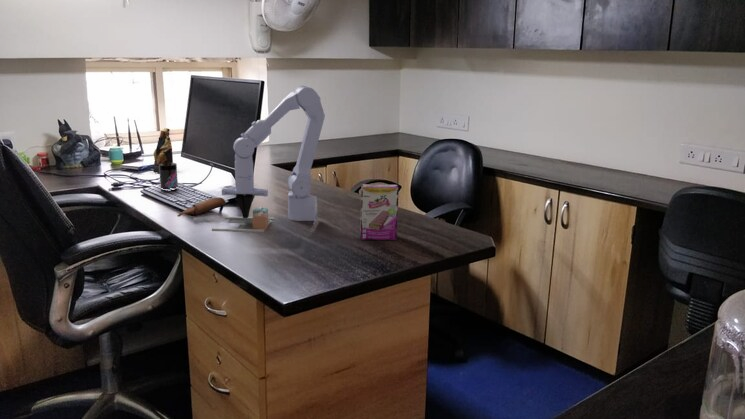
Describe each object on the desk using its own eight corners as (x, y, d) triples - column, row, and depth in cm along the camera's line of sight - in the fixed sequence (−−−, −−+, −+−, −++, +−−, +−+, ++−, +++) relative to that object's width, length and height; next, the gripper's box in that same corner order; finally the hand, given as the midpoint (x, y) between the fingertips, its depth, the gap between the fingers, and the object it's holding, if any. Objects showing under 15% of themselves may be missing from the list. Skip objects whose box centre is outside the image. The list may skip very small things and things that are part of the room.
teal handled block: (268, 220, 200) (267, 206, 199) (265, 223, 196) (265, 209, 195) (256, 219, 200) (255, 206, 199) (253, 223, 196) (252, 209, 195)
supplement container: (161, 192, 243) (159, 166, 240) (159, 188, 249) (157, 163, 246) (179, 190, 246) (177, 165, 243) (176, 187, 252) (175, 162, 249)
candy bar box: (360, 240, 184) (360, 187, 180) (360, 235, 189) (360, 183, 185) (397, 240, 185) (398, 187, 181) (396, 236, 190) (397, 184, 186)
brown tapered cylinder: (206, 204, 224) (213, 189, 222) (221, 215, 223) (228, 201, 221) (175, 216, 208) (183, 200, 205) (191, 228, 207) (199, 213, 204)
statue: (151, 171, 285) (148, 128, 281) (168, 169, 290) (165, 127, 285) (160, 175, 276) (157, 130, 271) (177, 173, 281) (174, 129, 276)
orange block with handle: (268, 225, 194) (268, 211, 193) (265, 229, 190) (265, 214, 189) (256, 225, 194) (255, 211, 193) (253, 228, 190) (252, 214, 189)
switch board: (274, 223, 202) (273, 217, 201) (263, 236, 187) (263, 230, 187) (226, 221, 203) (225, 216, 202) (212, 234, 188) (211, 228, 188)
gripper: (269, 174, 198) (270, 214, 202) (225, 172, 199) (227, 213, 202) (264, 178, 191) (265, 220, 195) (219, 177, 192) (220, 219, 195)
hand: (245, 217), depth 198 cm, fingers closed
